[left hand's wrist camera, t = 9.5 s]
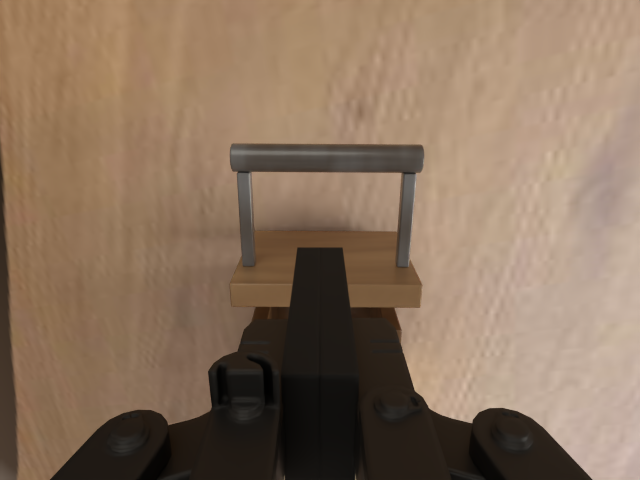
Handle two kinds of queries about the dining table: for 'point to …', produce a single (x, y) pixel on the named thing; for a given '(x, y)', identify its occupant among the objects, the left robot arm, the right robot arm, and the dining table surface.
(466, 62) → the dining table surface
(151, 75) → the dining table surface
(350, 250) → the drawer
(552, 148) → the dining table surface
